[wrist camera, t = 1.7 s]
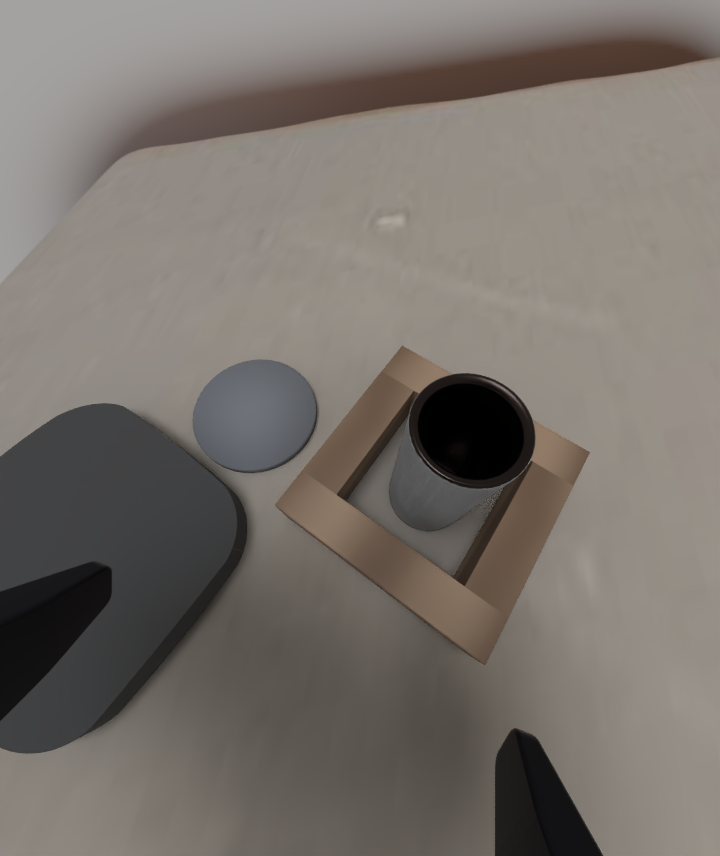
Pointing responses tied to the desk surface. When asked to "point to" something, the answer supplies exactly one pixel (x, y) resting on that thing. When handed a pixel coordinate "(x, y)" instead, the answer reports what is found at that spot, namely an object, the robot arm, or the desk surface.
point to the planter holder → (398, 563)
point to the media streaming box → (111, 557)
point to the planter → (459, 449)
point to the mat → (255, 416)
